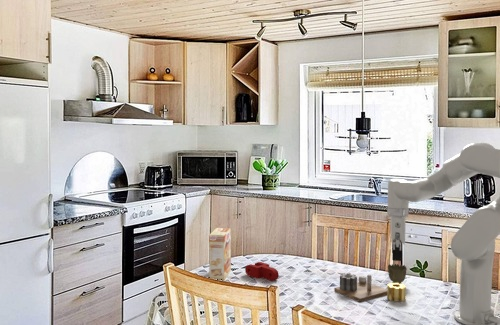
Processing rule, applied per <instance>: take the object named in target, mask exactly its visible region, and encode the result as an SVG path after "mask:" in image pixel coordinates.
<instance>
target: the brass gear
mask: <svg viewBox="0 0 500 325" xmlns="http://www.w3.org/2000/svg"><path fill="white" fill-rule="evenodd" d="M386 285H387V288H386V289H387V294H386V296H387V297H386V298H387V299H388V300H389V301H394V302H405V301H406V299H407V298H406V294H407V293H406V291H407V286H406V285H405V284H404V283H402V284H398V283H394V284H393V283H392V282H389V283H388V284H386Z"/></svg>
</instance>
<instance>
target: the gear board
mask: <svg viewBox="0 0 500 325" xmlns="http://www.w3.org/2000/svg"><path fill="white" fill-rule="evenodd" d="M372 276H373V275H372V274H367V275H365V276H363V275H360V276H359V277H358V276H357V275H356V274H353V273H352V274H351V273H350V272H346V273H342V274H340V275H339V286H337V287H334V288H333V290H334V292H335V293H338V294H341V295H343V296H345V297H348V298H350V299H353V300H355V301H357V302H360V303H361V302H365V301H367V300H371V299H375V298H378V297H382V296H383V297H384V296H387V288H384V287H381V286H378V285H376V284H373V283H372Z"/></svg>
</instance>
